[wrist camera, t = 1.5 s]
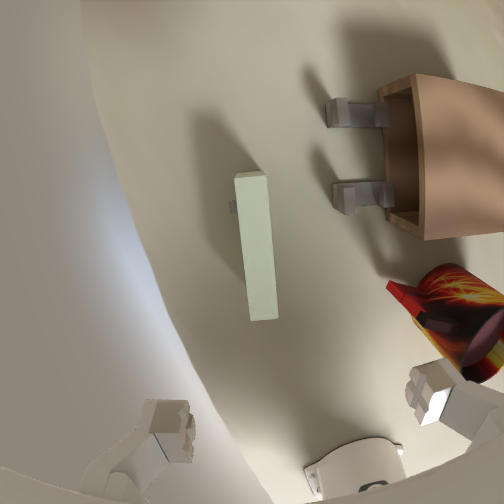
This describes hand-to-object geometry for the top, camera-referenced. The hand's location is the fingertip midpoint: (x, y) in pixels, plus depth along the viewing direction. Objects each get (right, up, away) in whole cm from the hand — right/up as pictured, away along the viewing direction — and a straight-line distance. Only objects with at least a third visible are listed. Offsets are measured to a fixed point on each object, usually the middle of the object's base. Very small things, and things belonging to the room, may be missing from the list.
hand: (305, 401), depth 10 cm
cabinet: (+15, +16, +19) cm, 28 cm away
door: (-1, +7, +21) cm, 23 cm away
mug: (+20, -1, +24) cm, 32 cm away
